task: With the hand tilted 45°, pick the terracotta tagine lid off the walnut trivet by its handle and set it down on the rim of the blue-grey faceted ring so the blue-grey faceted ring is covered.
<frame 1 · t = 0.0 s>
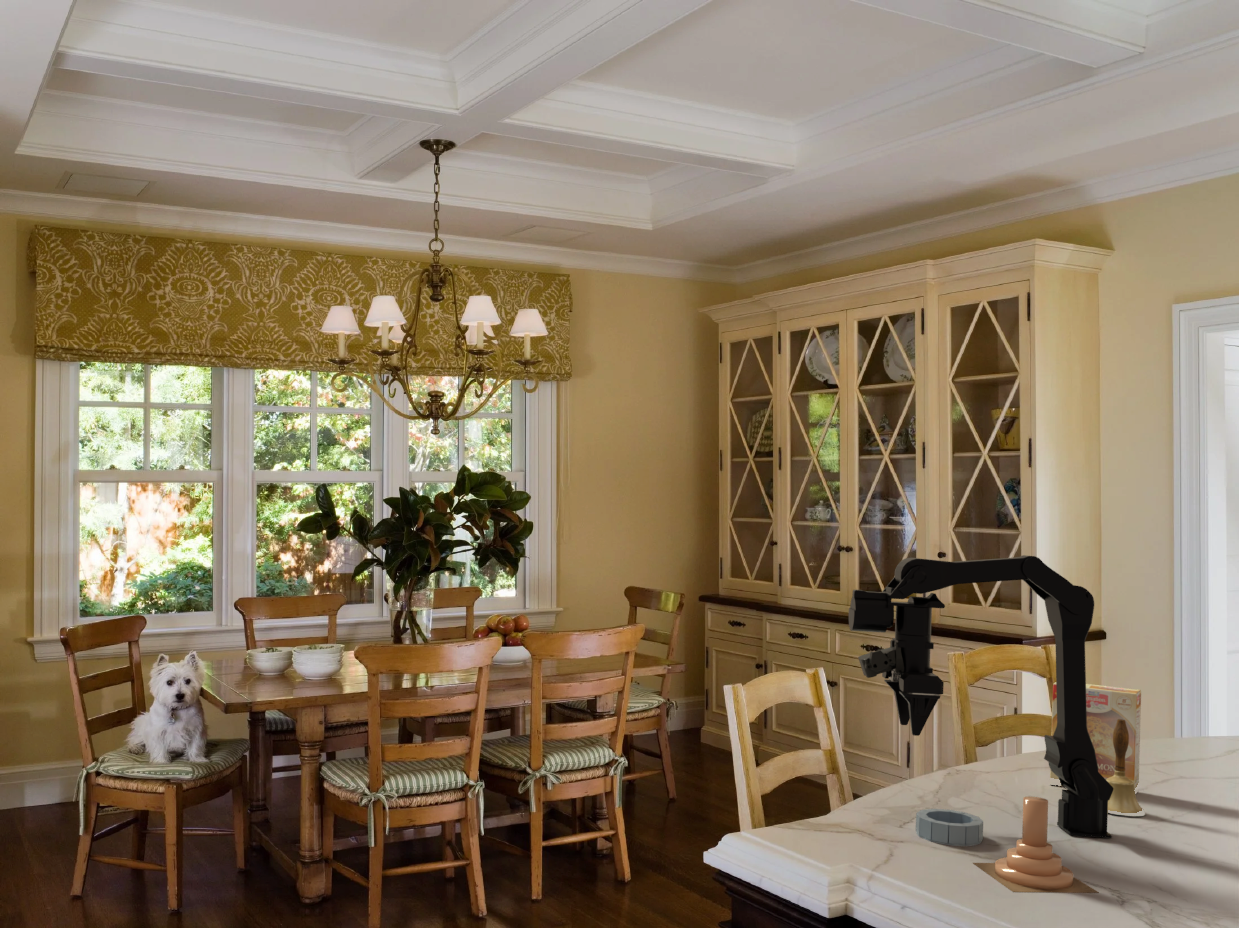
hand: (909, 730, 178), 15 cm above the table, tool pointing down, fingers open, 9 cm apart
blue-grey faceted ring: (948, 840, 167), on the table
hand bell: (1119, 812, 191), on the table
trivet: (1033, 881, 149), on the table
lid: (1033, 877, 149), point 1 cm above the table, touching trivet
coffeecake box: (1093, 789, 208), on the table
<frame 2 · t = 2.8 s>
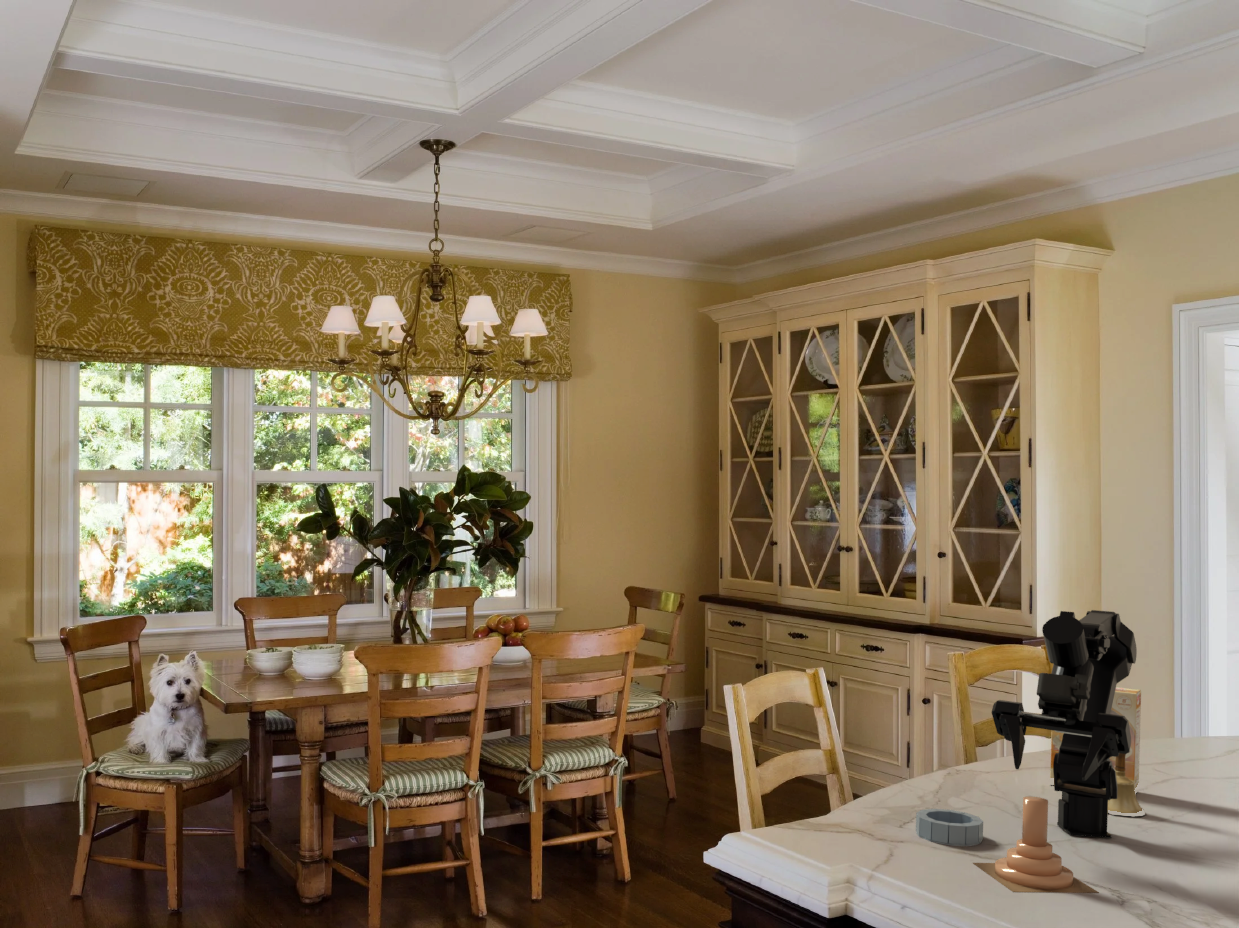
hand: (1049, 773, 156), 13 cm above the table, tool tilted 45°, fingers open, 9 cm apart
nothing on the table moved.
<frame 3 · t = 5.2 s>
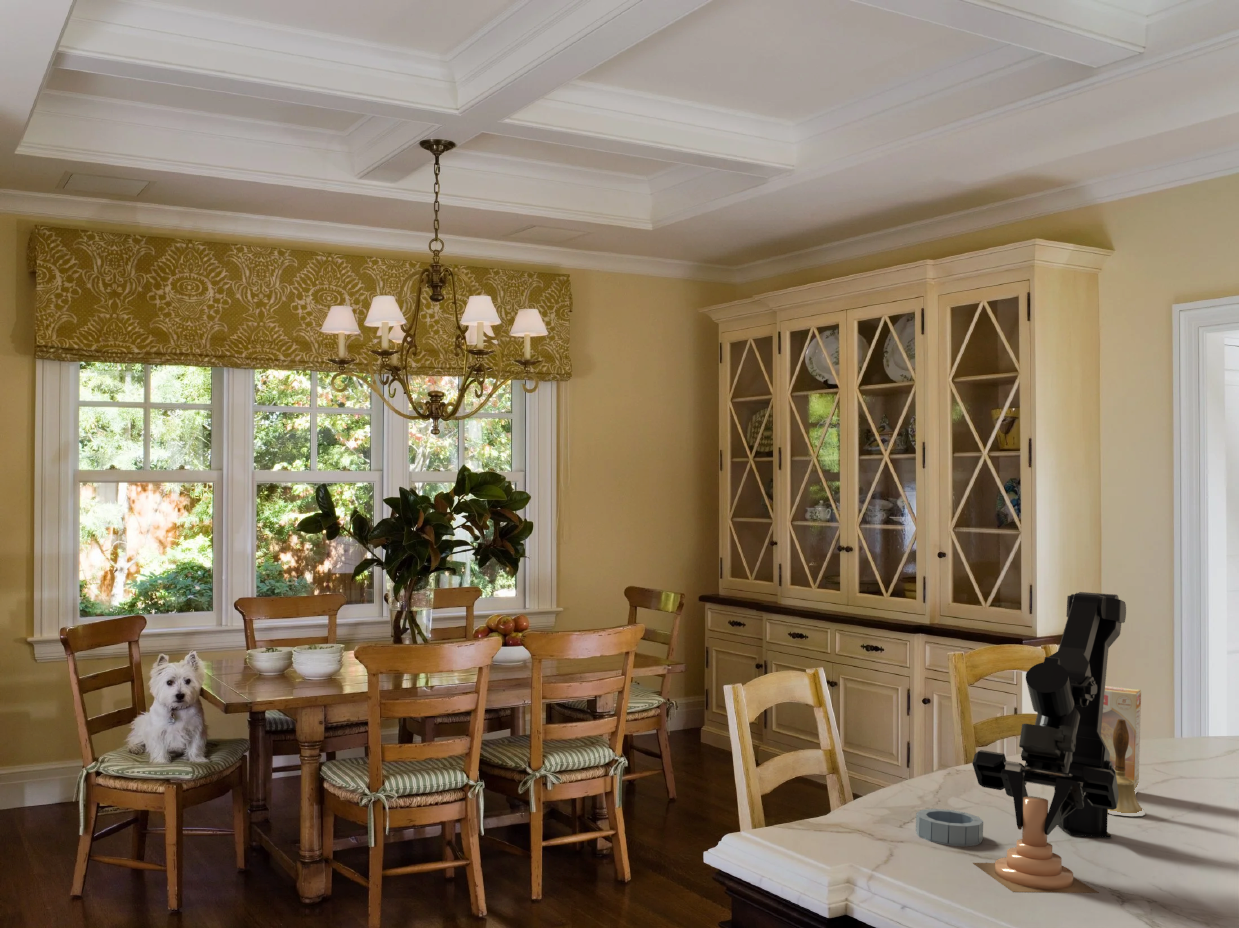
hand: (1032, 830, 148), 7 cm above the table, tool tilted 45°, fingers closed on lid, 3 cm apart
lid: (1033, 877, 149), point 1 cm above the table, touching gripper, trivet
everything else where it was.
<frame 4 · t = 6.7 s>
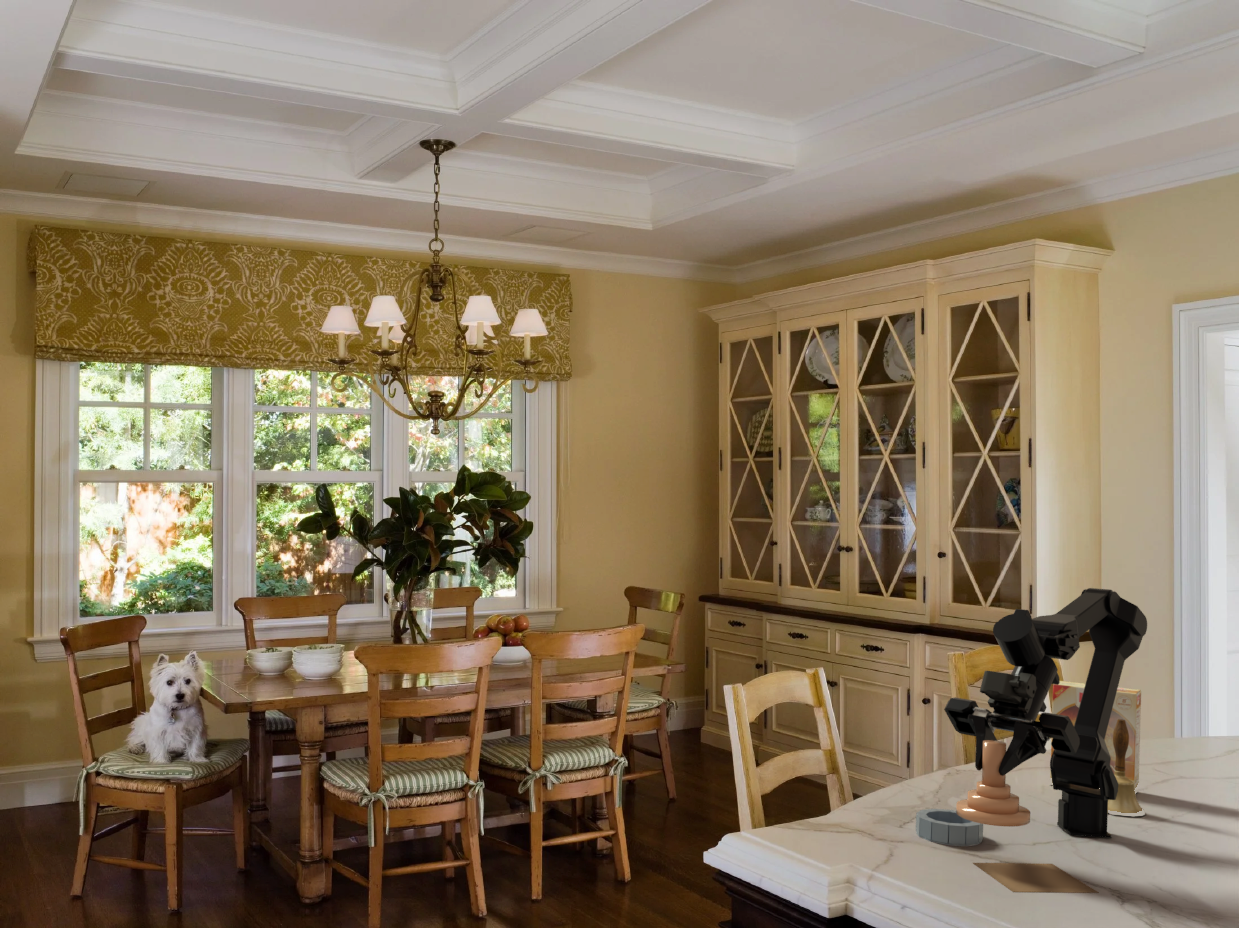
hand: (988, 771, 155), 13 cm above the table, tool tilted 45°, fingers closed on lid, 3 cm apart
lid: (992, 816, 156), point 7 cm above the table, touching gripper
everything else where it was.
when the fingers open (11 cm above the table, at t = 8.1 s): lid stays where it is, resting on blue-grey faceted ring.
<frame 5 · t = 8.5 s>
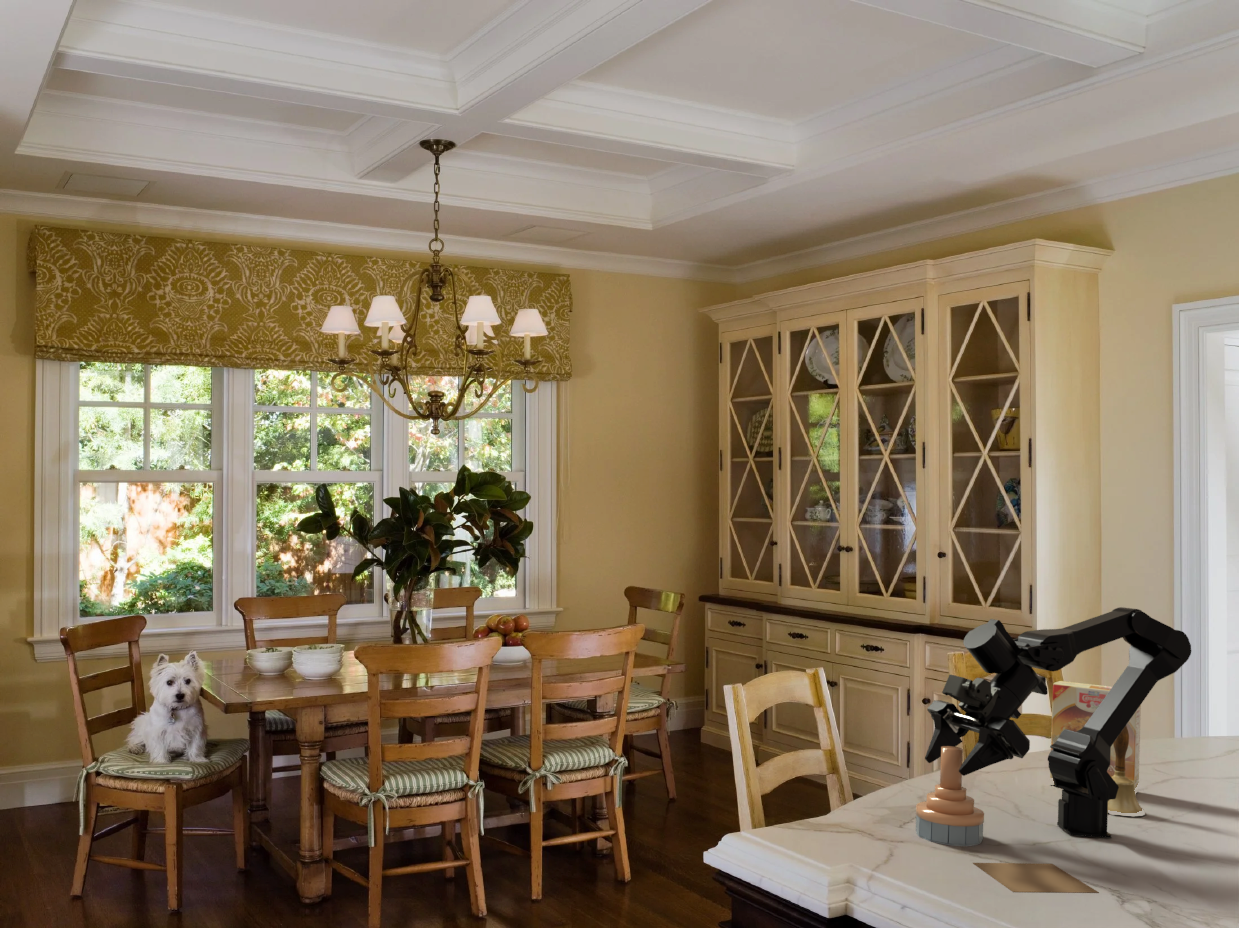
hand: (943, 767, 167), 11 cm above the table, tool tilted 45°, fingers open, 8 cm apart
lid: (949, 817, 167), point 3 cm above the table, touching blue-grey faceted ring
everything else where it was.
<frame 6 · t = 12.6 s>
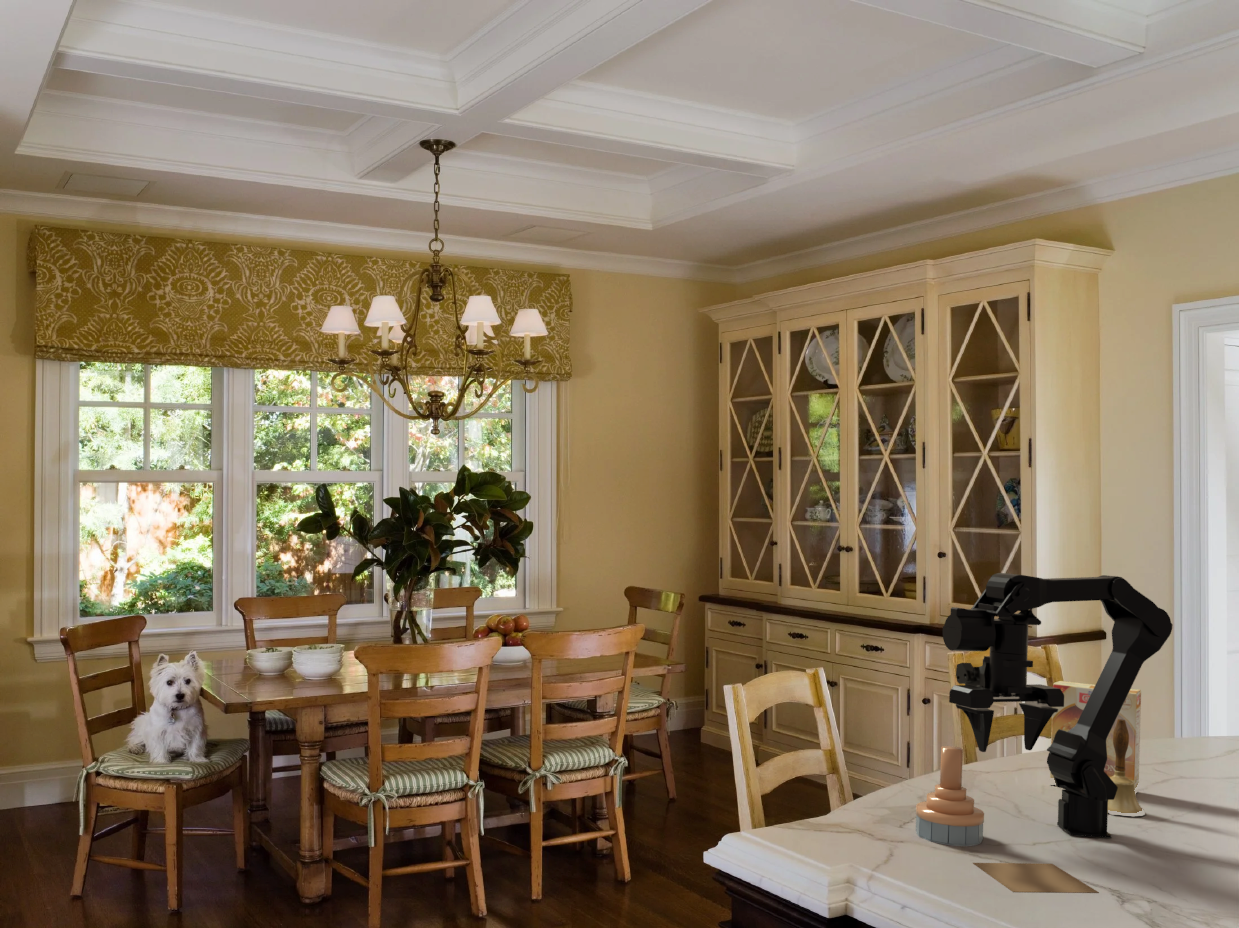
hand: (1005, 750, 173), 13 cm above the table, tool pointing down, fingers open, 9 cm apart
nothing on the table moved.
at the end: lid 0.0 cm off-centre on the blue-grey faceted ring, point 3.5 cm above the blue-grey faceted ring's base; lid tilted 0°; the gripper is holding nothing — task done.
